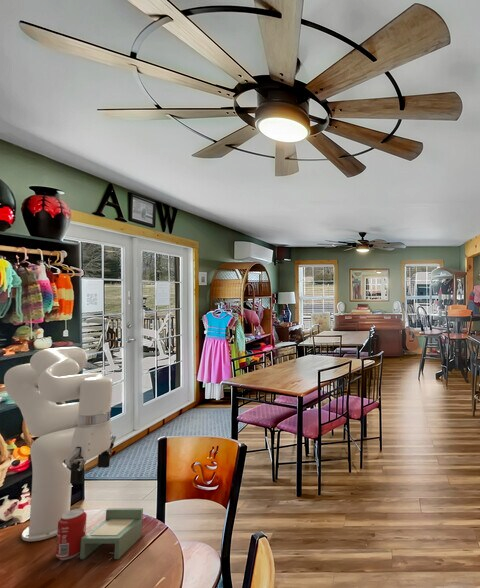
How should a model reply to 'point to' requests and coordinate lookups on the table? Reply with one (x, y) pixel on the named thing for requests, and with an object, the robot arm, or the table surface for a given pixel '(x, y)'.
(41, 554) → the table surface
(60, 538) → the beverage can
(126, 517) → the green stand
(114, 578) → the table surface
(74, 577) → the table surface
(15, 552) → the table surface
